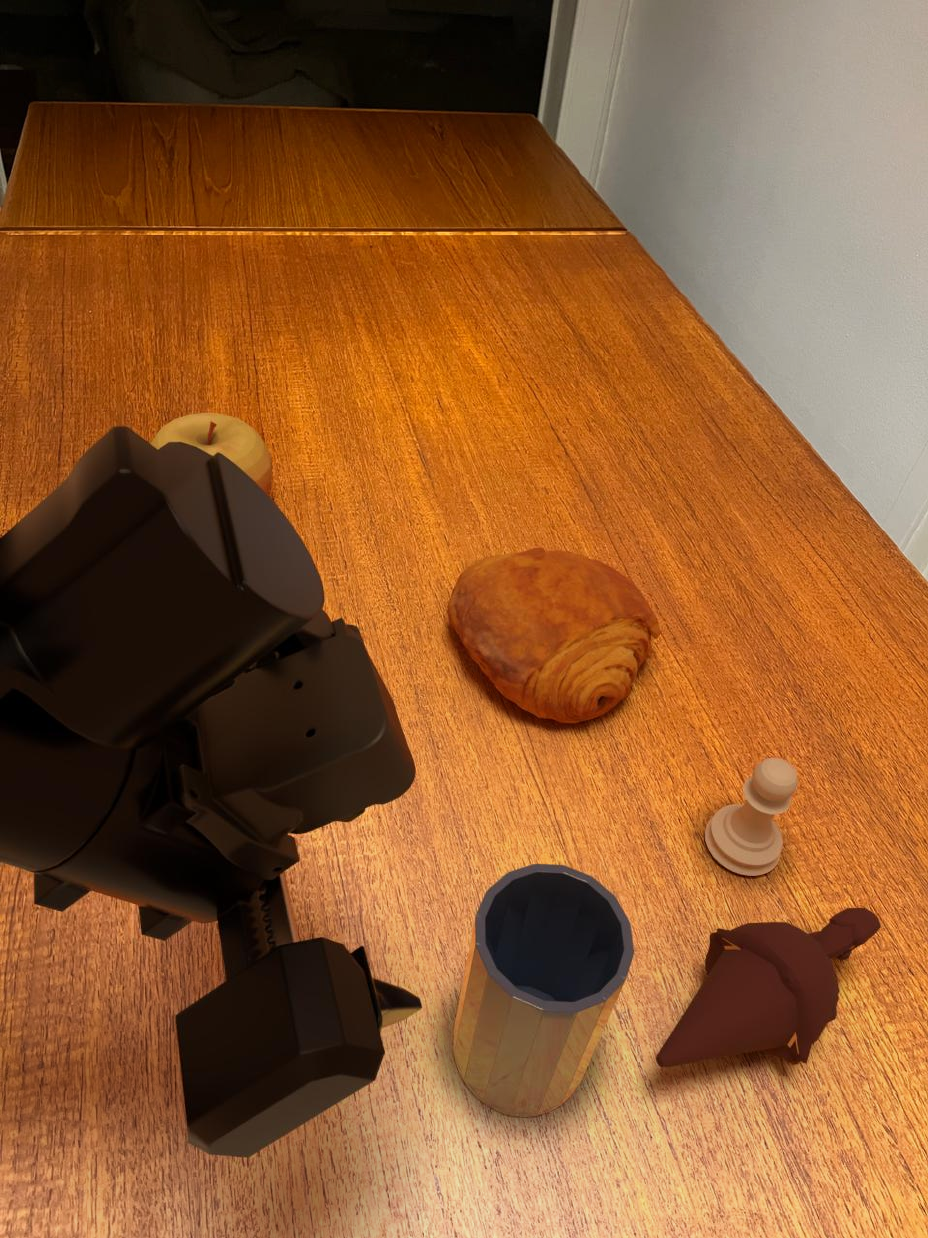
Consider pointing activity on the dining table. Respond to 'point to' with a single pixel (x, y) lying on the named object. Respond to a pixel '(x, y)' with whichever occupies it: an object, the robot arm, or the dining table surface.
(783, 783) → the chess piece
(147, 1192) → the dining table surface
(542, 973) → the cup
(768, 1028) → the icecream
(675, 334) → the dining table surface
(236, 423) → the apple
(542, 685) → the croissant
